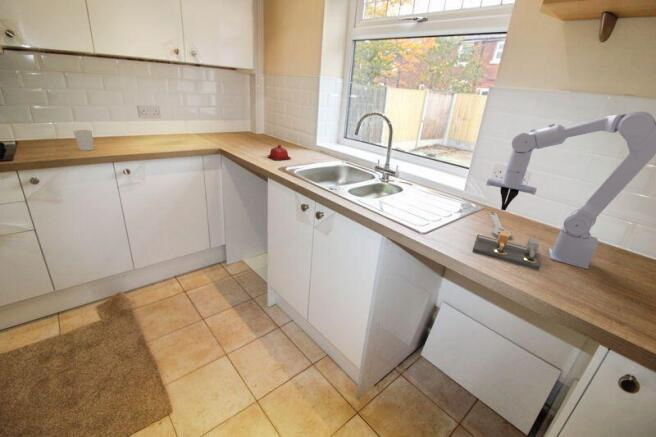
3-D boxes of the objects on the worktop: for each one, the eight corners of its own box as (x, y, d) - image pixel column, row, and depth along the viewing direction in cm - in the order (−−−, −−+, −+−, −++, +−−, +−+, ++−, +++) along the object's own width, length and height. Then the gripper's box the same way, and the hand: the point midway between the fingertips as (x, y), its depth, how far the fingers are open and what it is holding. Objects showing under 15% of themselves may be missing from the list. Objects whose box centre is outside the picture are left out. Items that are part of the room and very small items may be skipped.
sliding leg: (505, 242, 102) (509, 232, 100) (504, 252, 96) (508, 241, 94) (497, 240, 103) (500, 230, 101) (495, 249, 97) (499, 238, 95)
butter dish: (282, 156, 199) (282, 142, 196) (292, 160, 191) (292, 146, 188) (266, 157, 192) (266, 143, 189) (275, 161, 185) (275, 147, 181)
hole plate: (536, 253, 100) (542, 238, 98) (538, 270, 90) (545, 254, 88) (476, 237, 108) (480, 223, 106) (472, 251, 98) (476, 235, 96)
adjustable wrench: (487, 214, 131) (489, 210, 131) (504, 218, 129) (506, 214, 129) (491, 237, 110) (492, 232, 109) (511, 242, 108) (513, 237, 107)
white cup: (93, 150, 174) (89, 132, 170) (75, 150, 171) (71, 132, 167) (96, 147, 181) (93, 130, 177) (80, 147, 178) (76, 129, 174)
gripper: (540, 172, 103) (527, 211, 108) (492, 164, 109) (481, 201, 115) (541, 177, 97) (527, 217, 103) (490, 168, 104) (479, 206, 109)
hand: (503, 209), depth 108 cm, fingers closed
